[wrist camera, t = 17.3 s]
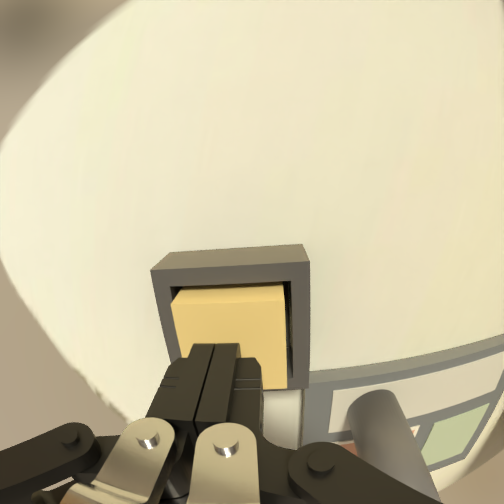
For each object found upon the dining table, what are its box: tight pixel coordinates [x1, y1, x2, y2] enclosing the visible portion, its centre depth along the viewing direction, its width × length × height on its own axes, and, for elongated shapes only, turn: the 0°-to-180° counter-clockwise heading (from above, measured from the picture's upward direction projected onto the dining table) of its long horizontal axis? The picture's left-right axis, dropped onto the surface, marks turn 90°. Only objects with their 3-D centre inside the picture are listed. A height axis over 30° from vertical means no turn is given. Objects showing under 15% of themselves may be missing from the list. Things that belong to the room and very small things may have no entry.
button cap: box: [171, 281, 287, 390], centre depth 12 cm, size 4×4×2 cm
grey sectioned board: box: [301, 334, 504, 472], centre depth 16 cm, size 16×14×1 cm
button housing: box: [150, 244, 310, 391], centre depth 13 cm, size 6×6×2 cm
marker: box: [347, 389, 441, 502], centre depth 9 cm, size 3×3×11 cm
